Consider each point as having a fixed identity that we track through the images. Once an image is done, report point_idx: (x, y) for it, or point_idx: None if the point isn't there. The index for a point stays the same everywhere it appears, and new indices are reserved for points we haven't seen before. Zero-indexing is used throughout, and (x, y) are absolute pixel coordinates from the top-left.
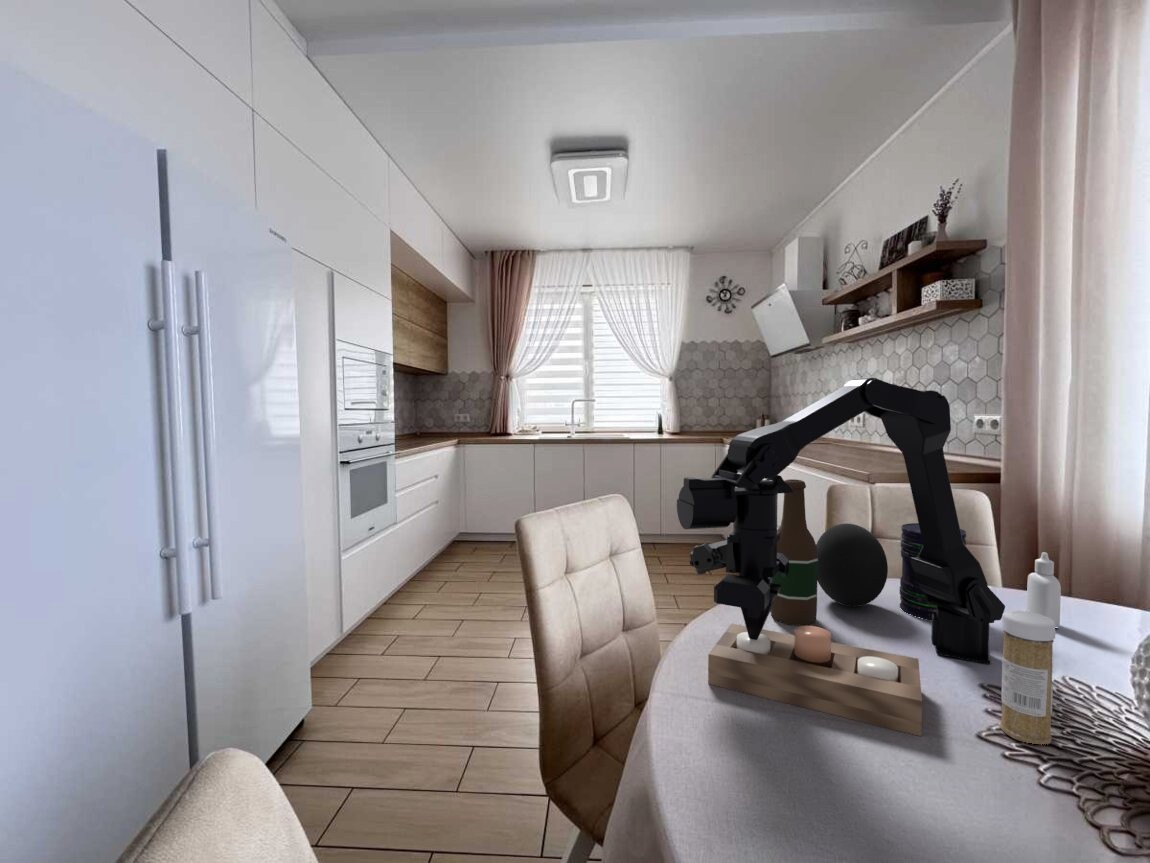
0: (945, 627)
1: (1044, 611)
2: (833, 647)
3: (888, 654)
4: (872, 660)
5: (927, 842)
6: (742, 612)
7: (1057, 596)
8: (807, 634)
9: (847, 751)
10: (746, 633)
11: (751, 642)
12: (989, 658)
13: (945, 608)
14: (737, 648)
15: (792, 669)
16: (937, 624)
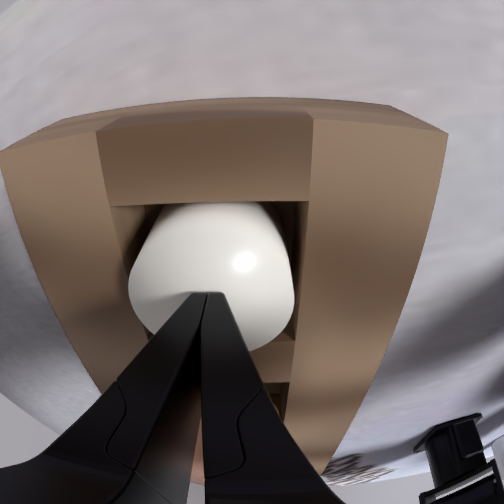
0: (451, 457)
1: (499, 453)
2: (318, 427)
3: (320, 464)
4: None
5: (13, 399)
6: (92, 405)
7: (499, 470)
8: (197, 471)
9: (62, 377)
10: (256, 265)
11: (154, 304)
12: (419, 451)
13: (464, 476)
14: (165, 216)
15: (110, 384)
16: (459, 453)
